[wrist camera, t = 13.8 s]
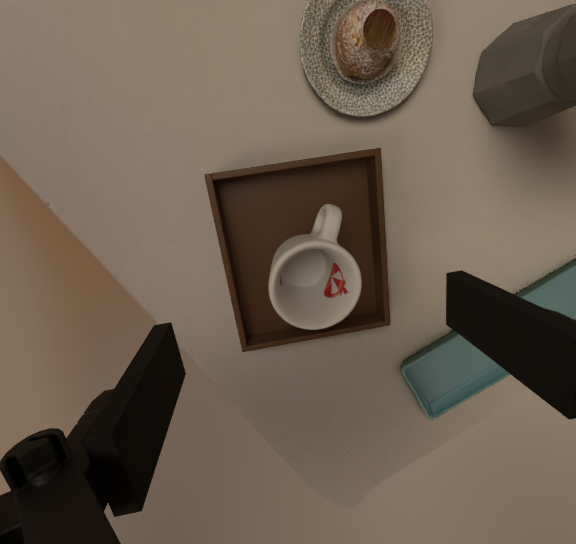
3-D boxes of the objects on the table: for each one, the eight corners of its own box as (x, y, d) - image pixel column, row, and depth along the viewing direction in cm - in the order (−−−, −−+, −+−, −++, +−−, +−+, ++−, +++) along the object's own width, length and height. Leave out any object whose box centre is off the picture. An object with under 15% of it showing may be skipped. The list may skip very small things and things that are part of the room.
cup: (285, 189, 32) (294, 193, 25) (358, 211, 34) (388, 222, 26) (256, 288, 35) (257, 319, 27) (325, 305, 36) (344, 339, 29)
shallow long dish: (584, 245, 38) (606, 250, 36) (602, 305, 41) (624, 313, 38) (391, 358, 40) (399, 369, 38) (420, 408, 43) (430, 422, 40)
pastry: (278, -6, 28) (283, -36, 23) (411, -61, 27) (441, -102, 23) (321, 136, 32) (332, 133, 27) (438, 90, 31) (467, 80, 27)
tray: (243, 338, 37) (242, 352, 34) (208, 174, 32) (204, 174, 29) (380, 313, 38) (390, 325, 35) (369, 150, 32) (380, 147, 30)
